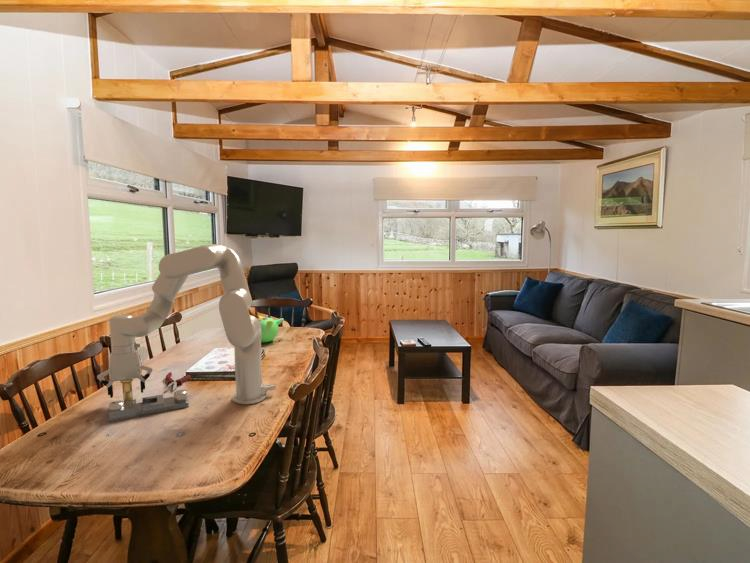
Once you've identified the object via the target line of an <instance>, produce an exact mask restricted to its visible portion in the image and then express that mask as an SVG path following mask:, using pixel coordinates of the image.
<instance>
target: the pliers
mask: <svg viewBox="0 0 750 563" xmlns="http://www.w3.org/2000/svg"><path fill="white" fill-rule="evenodd" d="M172 376H173V373H172V371H171V372H170V371H169V372H168V373H167V374H166V375H165V377H164V378H165V381H166V386H167V387H166V389H165V391H164V393H166V392H169V391H170V390H172V392H175V391H176V389H177V387H178V386H183V384H185V383H186V381H187V382H189V381H190V378H191V375H189V374H187V375H184V376H183V377H180V378H178V379H176V380H174V379H173V378H172ZM188 380H189V381H188Z"/></svg>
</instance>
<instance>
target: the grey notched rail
mask: <svg viewBox="0 0 750 563" xmlns="http://www.w3.org/2000/svg"><path fill="white" fill-rule="evenodd" d="M141 399H142V400H141V401H142V402H137V399H136V398H133V400H128V401H124V400H115V401H111V402H110V403H108V420H109V423H113V422H112V421H114V422H117V420H119V421H123V420H122V419H124V420H128V419H127V418H129V419H133V418H132V417H134V418H137V417H138V416H139V417H143V416H144V415H145V416H150V415H154V414H153V413H155V414H160V413H164V412H169V411H170V410H171V411H175V410H180V408H181V409H185V407H186V408H189V406H190V405H189V397H188V390H187V389H178V390H174V391H173V396H170V397H165V398H164V394H159V395H158V394H157V395H151V396H145V397H142V398H141ZM159 412H160V413H159ZM149 414H150V415H149ZM139 417H138V418H139Z"/></svg>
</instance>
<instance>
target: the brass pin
mask: <svg viewBox="0 0 750 563" xmlns="http://www.w3.org/2000/svg"><path fill="white" fill-rule="evenodd" d="M133 381H134V379H129V380H122V381H119V383H120V384H121V385H122V386H121V387H122V399H123V400H122V401H128V400H134V397H133V396H134V395H133V393H134V392H133V385H132V383H133Z"/></svg>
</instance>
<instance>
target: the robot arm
mask: <svg viewBox="0 0 750 563" xmlns="http://www.w3.org/2000/svg"><path fill="white" fill-rule="evenodd" d="M158 262H159V263H158V271H159V274H158V276H157V278H156V279H155V281H154V283H153V284H152V286H151V290H152V292H153V294H154V296H153V299H152V301H151V303H150V305H149V306H148V308H147V310H146V311H145V312H144V313H141V314H139V315H137V316H132V315H131V314H117V315H113V316H111V317H110V318H109V332H110V333H109V334H110V344H111V345H110V347H111V352H110V353H109V357H108V369H107V370H105V371H103V372H101V373H99V374H98V375H97V377H96V378H97V380H98V381H99V382H100V383H101V384H102V385H103V386H105V387H106V388H107V395H108V396H110V399H111V398H113V397H114V387H113V386H114V385H113V383H114V382H120V381H122V380H129V379H133V380H134V379H138V380H139V381H140V382H139V383H140V393H142V394H143V393H144V390H146V381H147V379H148V378H149V377H150V376H151V374H152V372H153V367H150V366H146V365H143V364H142V360H141V354H140V352H139V350H138V349H139V348H141V343H136V338H144V337H147V336H149V335H150V334H152V333H153V332H155V331H158V329H160V328H161V327H162V325H163V323H165V321H166V319H167V318H168V316H169V314H170V313H171V310H172V309H173V306H174V304H175V301H176V297H177V295H178V294H179V292H180V291H181V289H182V287H183V285H184V283H185V282H186V280H187V279H188V278H189V276H190V275H191V276H192V275H194V274H198V273H202V272H206V271H210V270H212V269H218V271H219V277H220V278H219V279H220V282H221V286H222V288H223V295H222V296H221V297H220V299H219V301H218V302H219V303H218V310H219V314H220V318H221V323H222V326H223V329H224V332H225V333H224V334H225V336H226V338H227V341H228V342H229V344H230V345H232V347H234V350H233V351H234V371H235V372H234V373H235V375H234V376H235V392H234V393H233V395H231V401H232V402H233V403H234V404H238V405H253V404H257V403H260V402H263V401H264V400H266V398H267V396H268V392H269V391H275V390H276V384H270V383H267V384H263V370H262V369H263V367H262V366H263V364H262V343H261V324H260V322H259V320H258V319H257V318H258V317H256V316H254V315H251V314H250V310H249V309H250V308H251V307H252V303H253V299H252V295H251V292H250V289H249V285H248V281H247V277H246V274H245V270H244V267H243V264H242V261H241V258H240V257H239V256H238V254H237V253H236V252H235V251H234V250H233V249H231V248H230V247H228V246H225V245H222V244H215V243H213V244H212V243H211V244H205V245H200V246H196V247H193V248H189V249H186V250H184V249H183V250H182V251H178V252H172V253H168V254H166V255H164V256H163V257H162V258H161V259H160V260H159V261H158ZM143 371H145V372H146V373H145V374H144V375H143V374H142V372H143ZM105 376H108V377H109V380H106V379H105Z"/></svg>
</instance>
